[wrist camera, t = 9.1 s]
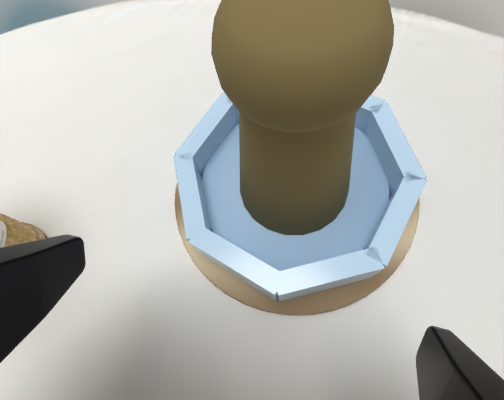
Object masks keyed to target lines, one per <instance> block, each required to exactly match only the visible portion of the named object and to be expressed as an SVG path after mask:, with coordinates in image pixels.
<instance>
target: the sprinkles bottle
mask: <svg viewBox="0 0 504 400" xmlns="http://www.w3.org/2000/svg"><path fill="white" fill-rule="evenodd" d="M41 239H46V238H45V236H44V234H43V232H42V231H41V230H39V229H38V228H37V227H35V226H33V225H31V224H26V223H23V222H19V221H17V220H15V219H12V218H10V217H8V216H5V215H3V214H1V213H0V248H1V247H6V246H11V245H16V244H21V243H26V242H31V241H36V240H41Z"/></svg>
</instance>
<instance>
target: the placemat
mask: <svg viewBox="0 0 504 400" xmlns="http://www.w3.org/2000/svg"><path fill="white" fill-rule="evenodd" d="M175 212H176V220H177V225H178V229H179V233H180V235H181V238H182V241H183V243H184V246H185V248H186V250H187V251H188V253H189V255H190V257H191V259H192V260H193V261H194V263H195V264H196V265H197V267H198V268H199V269H200V271H201V272H202V273H203V274H204V275H205V276H206V277H207V278H208V279H209V280H210V281H211V282H212V283H213V284H214V285H216V286H217V287H218V288H220V289H221V290H222V291H224V292H225V293H226V294H228V295H229V296H231V297H233V298H235V299H237V300H239V301H240V302H242V303H244V304H247V305H250V306H252V307H255V308H257V309H260V310H265V311H269V312H273V313H279V314H290V315H305V314H316V313H322V312H327V311H332V310H335V309H338V308H341V307H344V306H347V305H349V304H351V303H353V302H355V301H357V300H359V299H361V298H363V297H365V296H366V295H368V294H369V293H370V292H372V291H373V290H375V289H376V288H378V287H379V286H380V285H381V284H382V283H383V282H384V281H385V280H387V279H388V278H389V277H390V276H391V275H392V274H393V272H394V271H395V270H396V269H397V267H398V266H399V265H400V263H401V262H402V261H403V259H404V257H405V255H406V253H407V252H408V250H409V248H410V246H411V243H412V241H413V238H414V235H415V232H416V228H417V223H418V218H419V199H418V201H417V203H416V205H415V207H414V209H413V211H412V214H411V216H410V218H409V220H408V222H407V224H406V226H405V229H404V231H403V233H402V235H401V237H400V239H399V241H398V244H397V246H396V248H395V250H394V252H393V254H392V257H391V259H390V261H389V263H388V265H387V266H386V267H385V268H384V269H383V270H381V271H380V272H379V273H377V274H376V275H375V276H373V277H372V278H370V279H366V280H362V281H358V282H354V283H350V284H347V285H343V286H339V287H335V288H331V289H327V290H323V291H320V292H316V293H312V294H308V295H304V296H300V297H296V298H293V299H289V300H285V301H281V302H279V298H278V299H277V301H275V300H273V299H272V298H270V297H269V296H267V295H265V294H264V293H262V292H260V291H259V290H257V289H256V288H254V287H252V286H251V285H249V284H248V283H246V282H244V281H243V280H241V279H239V278H238V277H236V276H235V275H233V274H231V273H230V272H228V271H227V270H225V269H223V268H222V267H220V266H218V265H217V264H215V263H214V262H212V261H210V260H209V259H207V258H206V257H204V256H202V255H201V254H200V253H199V252H198V251H197V250H196V249H195V248H194V247H193V246H192V245H191V244H190V243H189V242H188V240H187V239H186V233H185V227H184V220H183V214H182V207H181V201H180V195H179V188H178V182H177V186H176V194H175Z"/></svg>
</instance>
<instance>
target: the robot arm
mask: <svg viewBox="0 0 504 400" xmlns="http://www.w3.org/2000/svg"><path fill="white" fill-rule="evenodd" d="M84 268H85V251H84V242H83V240H82V239H81V238H80V237H76V236H72V235H61V236H56V237H51V238H46V239H41V240H36V241H31V242H26V243H21V244H16V245H11V246H6V247H1V248H0V363H1V362H2V361H3V360H4V359H5V358H6V357H7V356H8V355H9V354H10V353H11V352H12V351H13V350H14V349H15V347H16V346H17V345H18V344H19V343H20V342H21V341H22V340H23V339H24V338H25V337H26V336H27V335H28V334H29V333H30V332H31V331H32V330H33V329H34V328H35V327H36V326H37V325H38V324H39V323H40V322H41V321H42V320H43V319H44V318H45V317H46V315H47V314H48V313H49V312H50V311H51V310H52V308H53V307H54V306H55V305H56V304H57V302H58V301H59V300H60V299H61V297H62V296H63V295H64V294H65V293H66V291H67V290H68V289H69V288H70V287H71V285H72V284H73V283H74V282H75V280H76V279H77V278H78V277H79V276H80V274H81V273H82V272H83V270H84ZM416 368H417V378H418V388H419V398H420V400H504V380H503V379H502V378H501V377H500V376H499V375H498V374H497V373H496V372H495V371H493V370H492V369H491V368H490V367H489V366H488V365H487V364H486V363H485V362H484V361H483V360H482V359H480V358H479V357H478V356H477V355H476V354H475V353H474V352H473V351H472V350H471V349H470V348H469V347H467V346H466V345H465V344H464V343H463V342H462V341H461V340H460V339H459V338H458V337H457V336H456V335H454V334H453V333H452V332H451V331H449V330H447V329H443V328H439V327H435V326H430V327H428V328H427V330H426V332H425V334H424V337H423V339H422V342H421V344H420V347H419V349H418V352H417V355H416Z"/></svg>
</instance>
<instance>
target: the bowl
mask: <svg viewBox="0 0 504 400" xmlns="http://www.w3.org/2000/svg"><path fill="white" fill-rule="evenodd" d="M384 102H385V100H383V99H380V98H377V97H375V96H372V95H370V96H369V98H368V99H367V100H366V101H365V103H364V104H363V105H362V106H361V108H360V109H359V110H358V111H357V112H356V121H355V131H354V142H353V152H352V162H351V173H350V183H349V192H348V196H347V199H346V203H345V206H344V208H343V209H342V211H341V212H340V213H339V215H338V216H337V217H336V219H335V220H334V221H333V222H331V223H330V224H328V225H327V226H325V227H324V228H323V229H321V230H319V231H316V232H312V233H309V234H306V235H283V234H280V233H277V232H273V231H270V230H267V229H266V228H265V227H263V226H262V225H260V224H259V223H258V222H256V221H255V220H254V219H253V218H252V217H251V215H250V214H249V212H248V211H247V210H246V208H245V207H244V204H243V201H242V197H241V194H240V152H239V110H238V109H237V108H236V107H235V105H234V104H233V103H232V102H231V101H230V100H229V98H228V97H227V95H226V94H225V93H222V94H221V95H220V96H219V98H218V99H217V100H216V102H215V103H214V104H213V105H212V107H211V108H210V109H209V111H208V112H207V113H206V114H205V116H204V117H203V118H202V119H201V121H200V122H199V123H198V125H197V126H196V127H195V128H194V130H193V131H192V132H191V134H190V135H189V136H188V137H187V139H186V140H185V141H184V143H183V144H182V145H181V146H180V148H179V149H178V150H177V151H176V153H175V154H174V155H175V157H174V163H175V169H176V176H177V182H178V188H179V195H180V201H181V207H182V214H183V220H184V227H185V233H186V239H187V240H188V242H189V243H190V244H191V245H192V246H193V247H194V248H195V249H196V250H197V251H198V252H199V253H200V254H201V255H202V256H204V257H206V258H207V259H209V260H210V261H212V262H214V263H215V264H217V265H218V266H220V267H222V268H223V269H225V270H227V271H228V272H230V273H231V274H233V275H235V276H236V277H238V278H239V279H241V280H243V281H244V282H246V283H248V284H249V285H251V286H252V287H254V288H256V289H257V290H259V291H260V292H262V293H264V294H265V295H267V296H269V297H270V298H272V299H273V300H275V301H277V299H278V298H279V302H281V301H285V300H289V299H293V298H296V297H300V296H304V295H308V294H312V293H316V292H320V291H323V290H327V289H331V288H335V287H339V286H343V285H347V284H350V283H354V282H358V281H362V280H366V279H370V278H372V277H373V276H375V275H376V274H377V273H379V272H380V271H381V270H383V269H384V268H385V267H386V266H387V265H388V263H389V261H390V259H391V257H392V254H393V252H394V250H395V248H396V246H397V244H398V241H399V239H400V237H401V235H402V233H403V231H404V229H405V226H406V224H407V222H408V220H409V218H410V216H411V214H412V211H413V209H414V207H415V205H416V203H417V201H418V199H419V196H420V194H421V192H422V190H423V188H424V186H425V183H426V181H427V180H425V179H426V178H427V177H426V175H425V173H424V171H423V169H422V167H421V165H420V163H419V162H418V160H417V158H416V156H415V154H414V152H413V150H412V148H411V146H410V145H409V143H408V141H407V139H406V137H405V135H404V133H403V131H402V129H401V127H400V126H399V124H398V122H397V120H396V118H395V116H394V114H393V112H392V110H391V108H390V107H389V105H388V103H387V102H386V103H384Z"/></svg>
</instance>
